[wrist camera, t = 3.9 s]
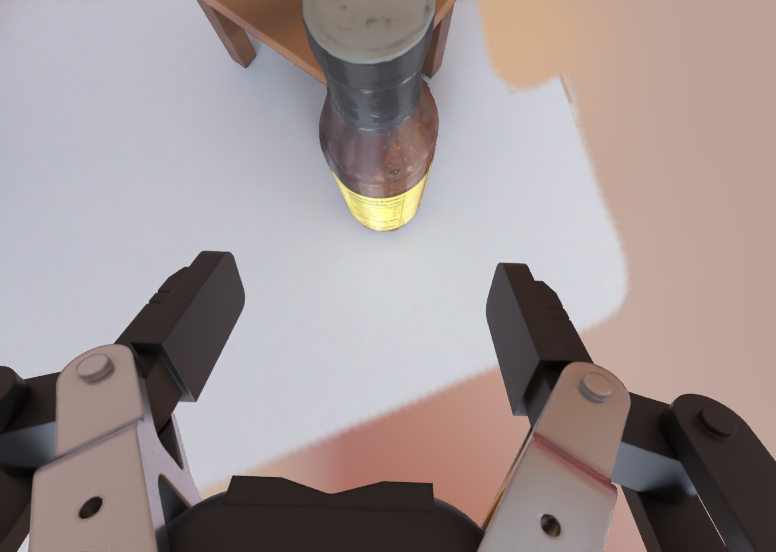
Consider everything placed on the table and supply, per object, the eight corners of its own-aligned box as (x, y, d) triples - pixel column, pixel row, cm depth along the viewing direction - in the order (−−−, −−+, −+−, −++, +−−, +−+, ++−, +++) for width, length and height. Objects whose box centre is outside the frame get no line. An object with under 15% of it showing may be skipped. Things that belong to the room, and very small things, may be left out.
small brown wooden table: (229, 59, 31) (175, -28, 23) (303, -29, 32) (275, -142, 24) (372, 159, 30) (366, 104, 22) (444, 65, 31) (463, -21, 23)
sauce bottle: (370, 152, 30) (339, -151, 10) (433, 187, 30) (522, -60, 10) (332, 216, 30) (222, 21, 10) (395, 252, 29) (413, 124, 10)
